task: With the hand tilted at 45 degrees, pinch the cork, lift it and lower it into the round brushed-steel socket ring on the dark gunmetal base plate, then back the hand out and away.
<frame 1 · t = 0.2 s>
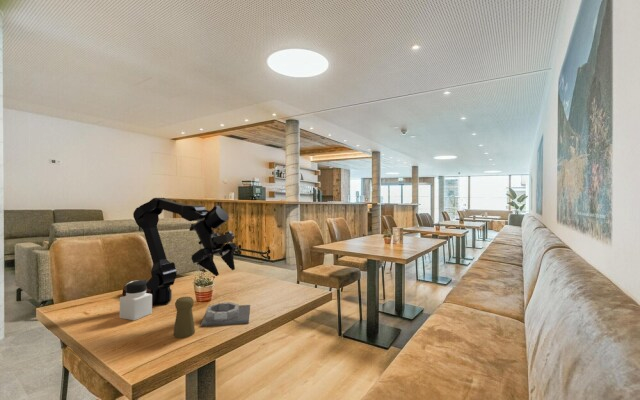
hand: (225, 272, 109), 15 cm above the table, tool tilted 35°, fingers open, 9 cm apart
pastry: (139, 294, 131), on the table
cork: (184, 334, 92), on the table
medicine bottle: (136, 316, 106), on the table
socket block: (222, 317, 105), on the table
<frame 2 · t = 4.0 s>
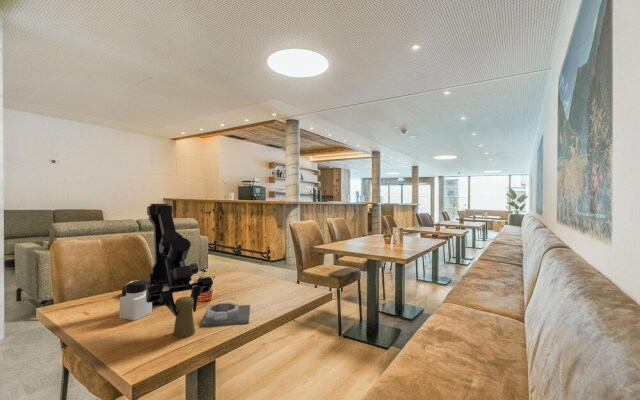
hand: (185, 313, 91), 7 cm above the table, tool tilted 45°, fingers closed on cork, 5 cm apart
cork: (184, 334, 92), on the table, touching gripper
everything else where it was.
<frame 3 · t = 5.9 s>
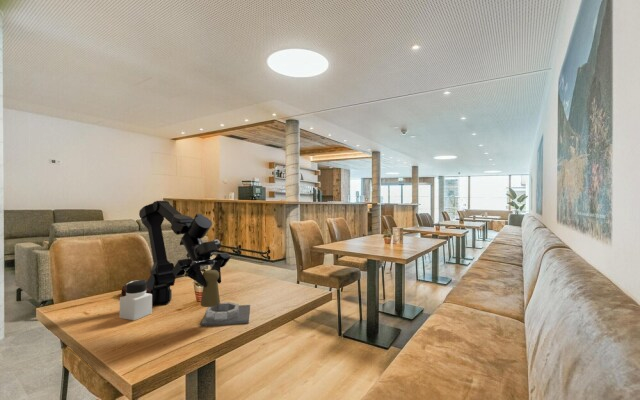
hand: (213, 284, 99), 13 cm above the table, tool tilted 45°, fingers closed on cork, 5 cm apart
cork: (210, 304, 99), point 6 cm above the table, touching gripper
everything else where it was.
when the fingers open (9 cm above the table, at t = 7.8 s): cork drops 1 cm, resting on socket block.
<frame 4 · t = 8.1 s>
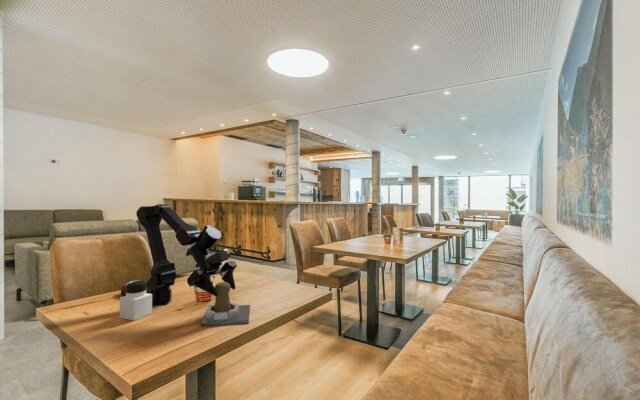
hand: (226, 292, 104), 9 cm above the table, tool tilted 45°, fingers open, 8 cm apart
cork: (222, 315, 105), point 1 cm above the table, touching socket block
everything else where it was.
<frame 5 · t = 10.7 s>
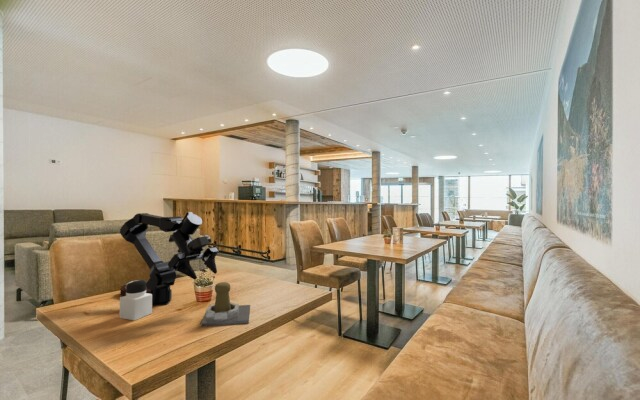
hand: (206, 275, 108), 14 cm above the table, tool tilted 45°, fingers open, 9 cm apart
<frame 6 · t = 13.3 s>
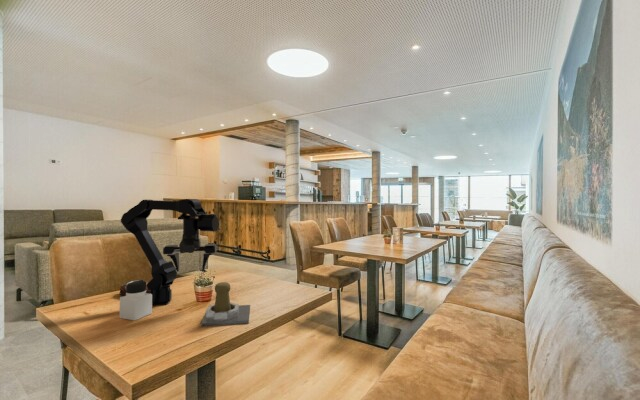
hand: (190, 271, 118), 13 cm above the table, tool pointing down, fingers open, 9 cm apart
at the end: cork 0.2 cm off-centre on the socket block, point 0.8 cm above the socket block's base; cork tilted 0°; the gripper is holding nothing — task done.
